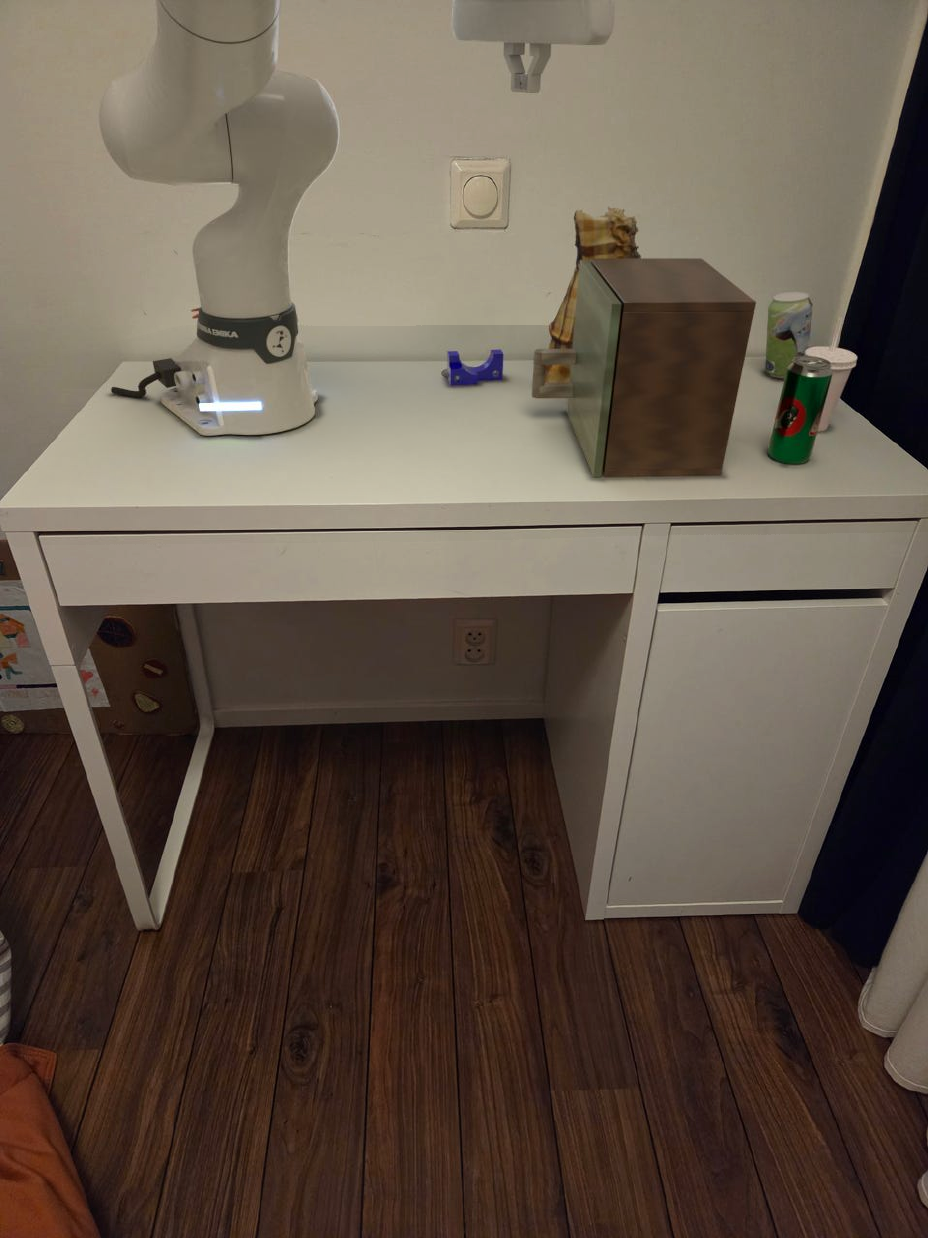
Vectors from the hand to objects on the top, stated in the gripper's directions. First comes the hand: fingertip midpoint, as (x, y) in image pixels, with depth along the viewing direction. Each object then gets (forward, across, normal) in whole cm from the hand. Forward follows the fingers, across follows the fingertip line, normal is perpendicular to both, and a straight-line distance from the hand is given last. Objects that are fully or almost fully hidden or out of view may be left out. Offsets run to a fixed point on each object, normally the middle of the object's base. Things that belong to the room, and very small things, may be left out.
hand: (525, 92), depth 97 cm
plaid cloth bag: (+37, +2, +15) cm, 40 cm away
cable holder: (+37, -10, +4) cm, 39 cm away
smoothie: (+37, +34, +22) cm, 55 cm away
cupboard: (+37, +20, +2) cm, 42 cm away
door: (+37, +13, -6) cm, 40 cm away
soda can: (+37, +36, +10) cm, 53 cm away
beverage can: (+37, +22, +38) cm, 58 cm away
